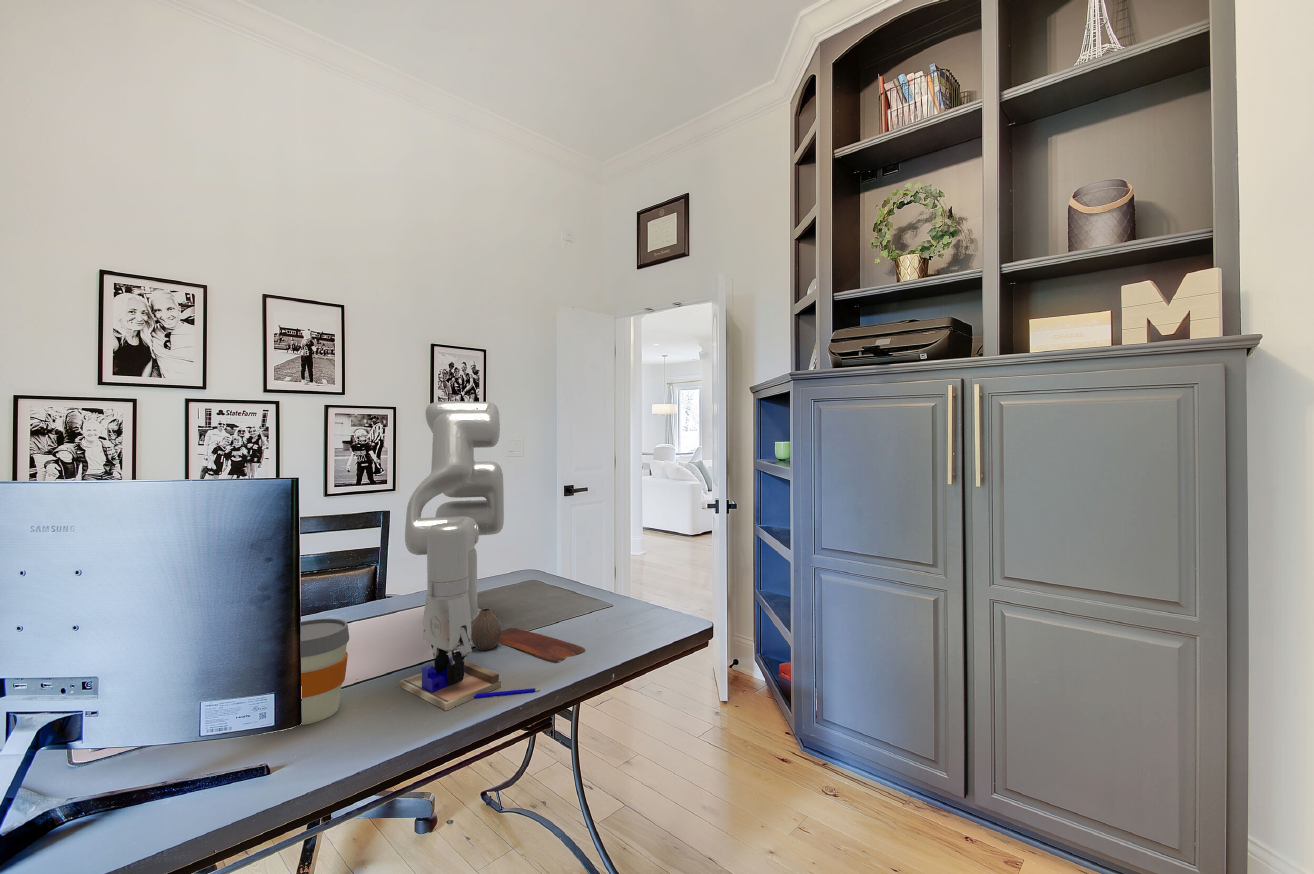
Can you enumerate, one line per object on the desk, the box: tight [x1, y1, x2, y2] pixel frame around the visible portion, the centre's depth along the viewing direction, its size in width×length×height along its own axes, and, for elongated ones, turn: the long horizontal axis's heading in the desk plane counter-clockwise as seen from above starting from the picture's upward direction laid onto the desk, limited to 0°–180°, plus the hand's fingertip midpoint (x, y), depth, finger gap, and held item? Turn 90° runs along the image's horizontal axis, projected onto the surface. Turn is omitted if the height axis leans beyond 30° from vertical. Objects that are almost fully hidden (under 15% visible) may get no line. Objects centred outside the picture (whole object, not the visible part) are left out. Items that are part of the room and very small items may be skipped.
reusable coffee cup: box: [300, 618, 350, 726], centre depth 102 cm, size 13×12×15 cm
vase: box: [471, 607, 502, 651], centre depth 133 cm, size 7×7×9 cm
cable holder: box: [421, 654, 464, 693], centre depth 111 cm, size 8×4×4 cm, turn 144°
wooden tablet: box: [498, 627, 586, 664], centre depth 135 cm, size 27×10×2 cm, turn 52°
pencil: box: [473, 687, 541, 700], centre depth 109 cm, size 17×1×1 cm, turn 103°
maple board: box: [399, 659, 502, 712], centre depth 112 cm, size 16×12×3 cm
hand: (449, 678), depth 112 cm, fingers closed on cable holder, 3 cm apart
